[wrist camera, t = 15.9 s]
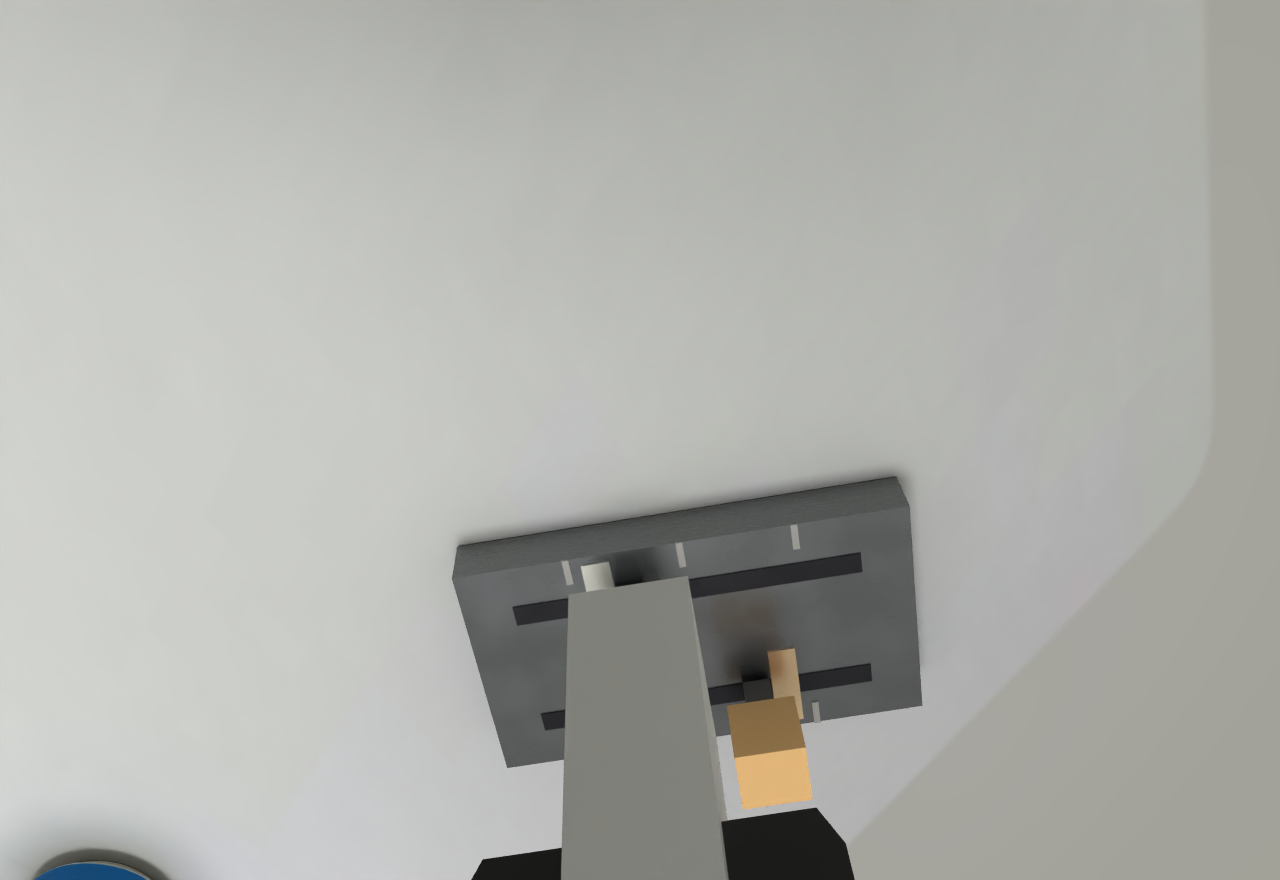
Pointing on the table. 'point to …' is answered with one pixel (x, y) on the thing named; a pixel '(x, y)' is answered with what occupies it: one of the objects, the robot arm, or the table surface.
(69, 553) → the table surface
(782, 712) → the fader
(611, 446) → the table surface
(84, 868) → the beverage can
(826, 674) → the console
